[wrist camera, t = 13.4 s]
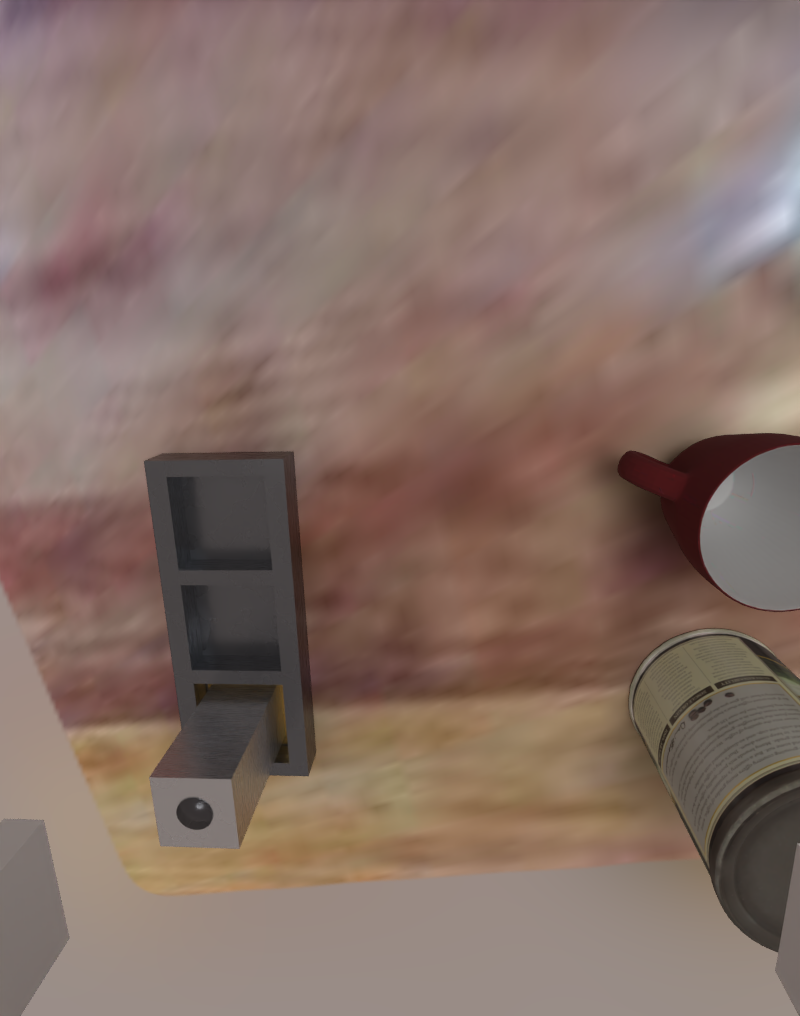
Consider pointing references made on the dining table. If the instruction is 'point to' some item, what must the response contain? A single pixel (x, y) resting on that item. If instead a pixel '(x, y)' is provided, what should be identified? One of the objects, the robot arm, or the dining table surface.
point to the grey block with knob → (218, 767)
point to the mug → (733, 512)
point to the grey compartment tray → (235, 583)
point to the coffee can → (728, 764)
